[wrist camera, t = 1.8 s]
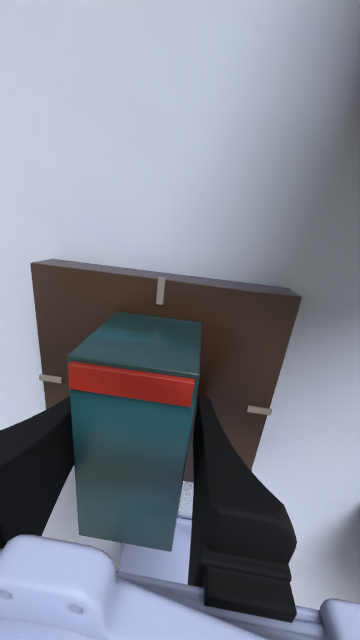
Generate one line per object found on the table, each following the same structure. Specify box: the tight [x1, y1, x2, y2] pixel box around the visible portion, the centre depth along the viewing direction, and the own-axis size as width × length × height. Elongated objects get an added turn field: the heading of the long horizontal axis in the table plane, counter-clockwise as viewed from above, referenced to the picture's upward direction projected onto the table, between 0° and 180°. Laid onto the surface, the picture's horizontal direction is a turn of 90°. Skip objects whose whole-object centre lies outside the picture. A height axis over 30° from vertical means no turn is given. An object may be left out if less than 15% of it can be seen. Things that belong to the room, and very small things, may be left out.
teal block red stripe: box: [67, 311, 201, 552], centre depth 12 cm, size 10×5×5 cm, turn 174°
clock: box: [31, 259, 302, 482], centre depth 15 cm, size 14×14×2 cm
